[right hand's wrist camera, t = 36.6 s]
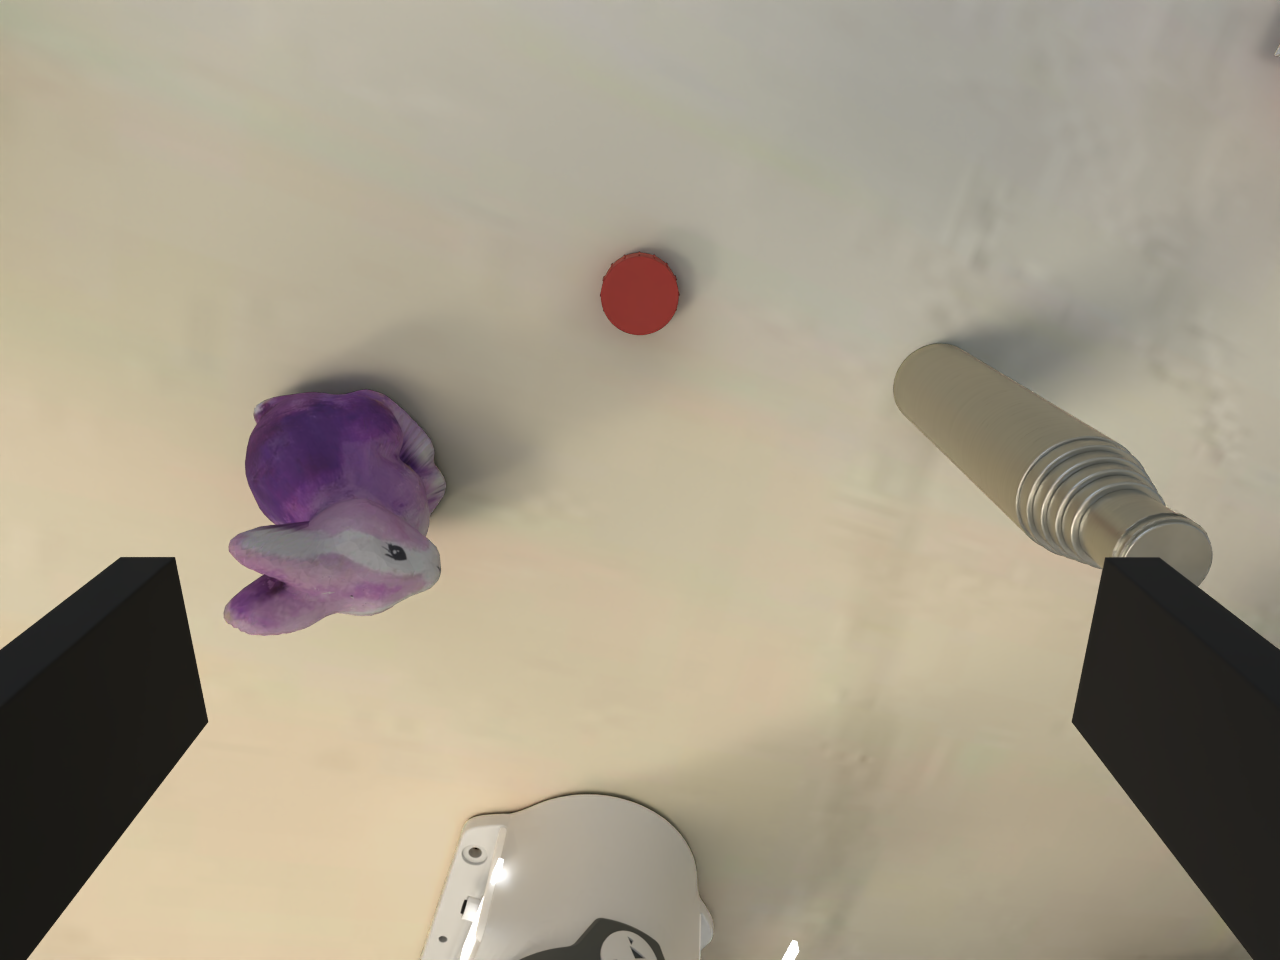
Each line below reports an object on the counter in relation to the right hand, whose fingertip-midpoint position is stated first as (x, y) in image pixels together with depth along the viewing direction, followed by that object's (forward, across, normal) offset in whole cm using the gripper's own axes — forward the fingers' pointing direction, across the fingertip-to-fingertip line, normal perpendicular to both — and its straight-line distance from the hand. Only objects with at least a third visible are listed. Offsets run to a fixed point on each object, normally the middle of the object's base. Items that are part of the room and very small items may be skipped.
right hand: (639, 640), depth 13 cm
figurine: (+35, -15, -9) cm, 39 cm away
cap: (+34, 0, 0) cm, 34 cm away
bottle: (+35, +16, -5) cm, 39 cm away
